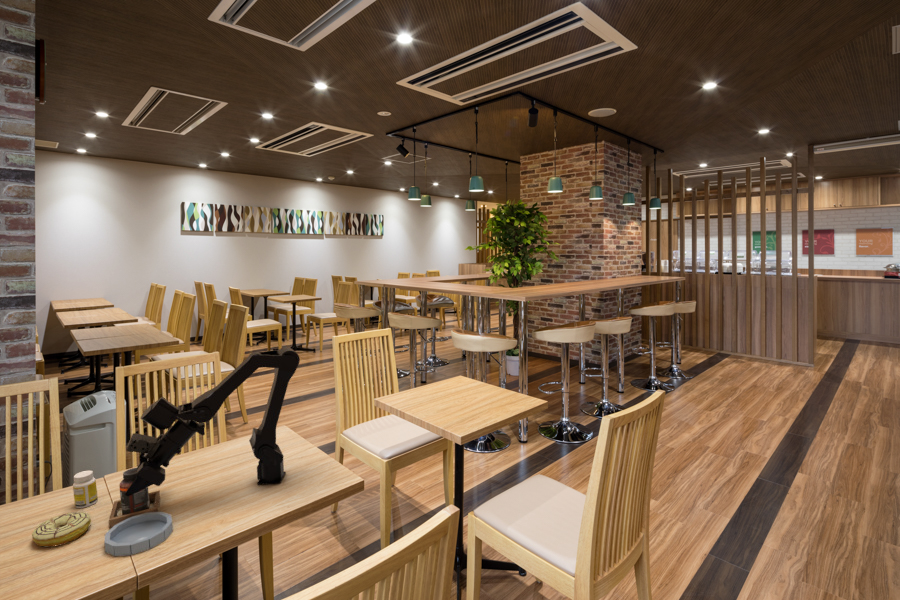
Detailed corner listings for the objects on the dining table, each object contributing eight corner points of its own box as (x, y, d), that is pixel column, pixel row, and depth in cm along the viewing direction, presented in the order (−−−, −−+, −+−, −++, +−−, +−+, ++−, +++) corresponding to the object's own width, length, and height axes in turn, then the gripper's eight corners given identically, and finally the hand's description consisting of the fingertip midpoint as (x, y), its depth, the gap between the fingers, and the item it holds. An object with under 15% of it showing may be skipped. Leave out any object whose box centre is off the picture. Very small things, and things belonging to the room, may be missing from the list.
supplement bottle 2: (155, 506, 119) (152, 465, 118) (138, 520, 113) (134, 477, 112) (134, 505, 120) (131, 465, 118) (116, 518, 114) (112, 476, 113)
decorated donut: (72, 519, 114) (71, 505, 114) (101, 527, 111) (100, 512, 110) (22, 544, 104) (20, 529, 104) (53, 554, 101) (51, 538, 100)
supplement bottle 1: (96, 496, 124) (93, 467, 123) (99, 503, 121) (96, 473, 120) (74, 503, 121) (71, 473, 120) (76, 510, 118) (72, 480, 117)
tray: (160, 498, 123) (159, 490, 123) (158, 516, 115) (157, 508, 114) (115, 508, 118) (114, 500, 118) (109, 528, 110) (108, 520, 109)
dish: (182, 519, 113) (181, 510, 113) (153, 553, 100) (153, 543, 100) (127, 522, 112) (126, 513, 112) (91, 557, 99) (90, 547, 99)
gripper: (150, 411, 124) (103, 459, 120) (144, 435, 108) (90, 491, 104) (185, 433, 129) (141, 479, 124) (185, 458, 113) (135, 513, 108)
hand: (127, 489), depth 115 cm, fingers closed on supplement bottle 2, 6 cm apart
